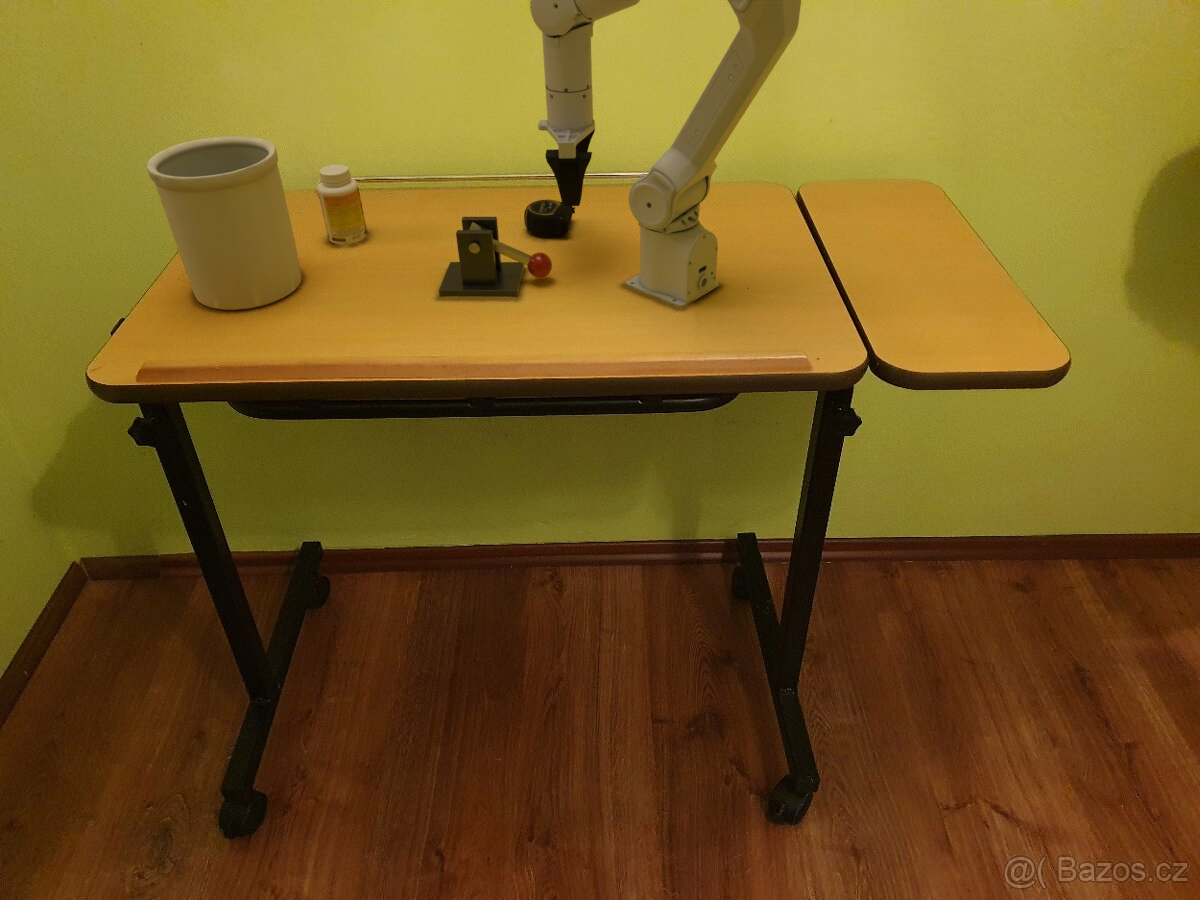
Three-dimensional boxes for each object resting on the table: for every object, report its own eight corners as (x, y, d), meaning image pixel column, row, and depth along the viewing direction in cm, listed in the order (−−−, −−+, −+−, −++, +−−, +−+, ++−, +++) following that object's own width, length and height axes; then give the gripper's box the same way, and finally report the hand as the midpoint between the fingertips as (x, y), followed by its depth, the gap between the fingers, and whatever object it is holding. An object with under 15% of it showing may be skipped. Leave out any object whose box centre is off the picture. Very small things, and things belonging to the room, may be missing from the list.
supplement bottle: (375, 239, 130) (361, 169, 124) (339, 250, 127) (324, 180, 121) (357, 227, 133) (343, 158, 127) (322, 237, 131) (306, 168, 124)
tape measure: (568, 242, 127) (567, 217, 125) (520, 240, 128) (518, 216, 126) (575, 222, 133) (574, 198, 130) (530, 220, 134) (528, 196, 131)
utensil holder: (213, 261, 126) (173, 135, 115) (319, 259, 125) (289, 132, 114) (173, 314, 114) (124, 179, 103) (290, 311, 114) (254, 176, 103)
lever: (547, 274, 119) (557, 254, 117) (545, 286, 116) (554, 265, 114) (465, 238, 116) (474, 217, 114) (461, 249, 114) (469, 228, 112)
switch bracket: (524, 270, 121) (519, 211, 116) (517, 299, 115) (512, 238, 110) (451, 269, 122) (443, 211, 117) (439, 298, 115) (430, 238, 110)
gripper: (541, 68, 115) (547, 172, 124) (530, 105, 104) (537, 216, 113) (596, 68, 115) (598, 171, 124) (591, 104, 104) (594, 215, 112)
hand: (573, 193), depth 118 cm, fingers open, 7 cm apart
